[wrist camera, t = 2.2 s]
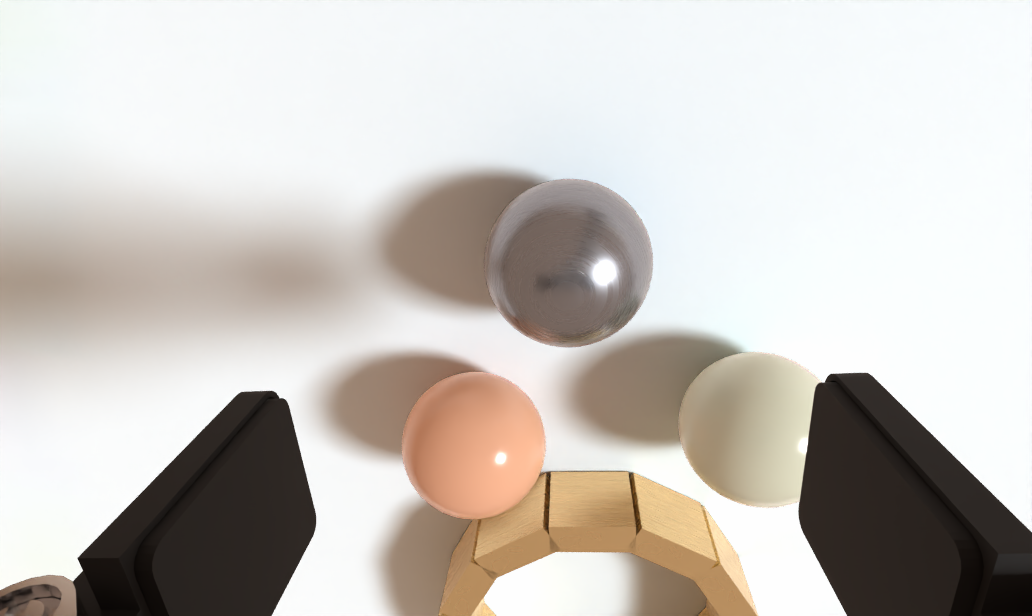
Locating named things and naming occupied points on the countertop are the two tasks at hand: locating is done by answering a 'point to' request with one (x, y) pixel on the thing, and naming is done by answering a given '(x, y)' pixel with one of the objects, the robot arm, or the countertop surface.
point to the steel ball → (568, 263)
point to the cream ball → (749, 427)
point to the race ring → (598, 538)
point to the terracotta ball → (473, 445)
